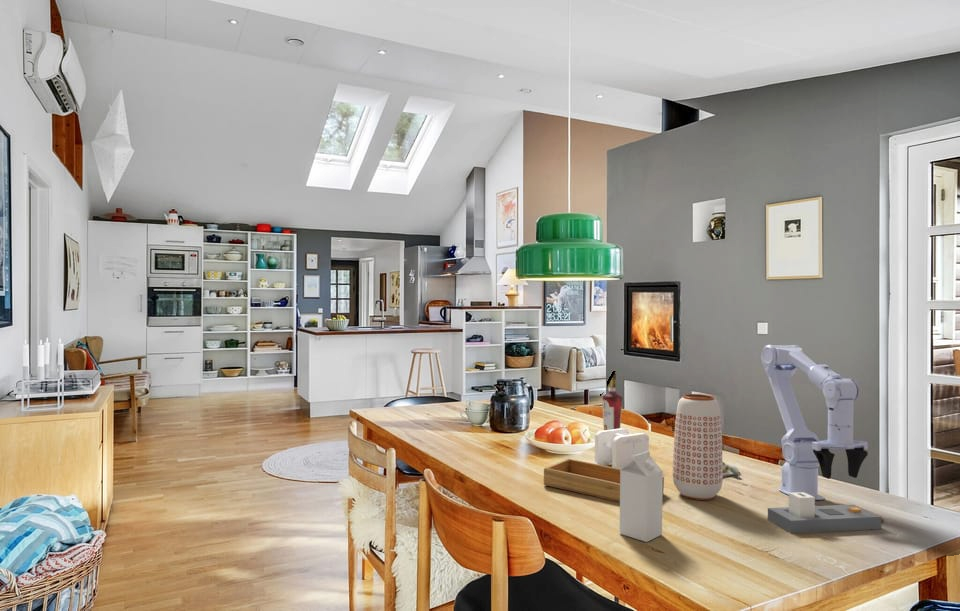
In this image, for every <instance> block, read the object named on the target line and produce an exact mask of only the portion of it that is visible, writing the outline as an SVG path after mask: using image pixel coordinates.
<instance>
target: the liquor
mask: <svg viewBox="0 0 960 611" xmlns="http://www.w3.org/2000/svg"><path fill="white" fill-rule="evenodd" d="M616 379H617V372H614V373H613V375H612V377H611V378H610V380H609V382H608V392H607V393H605V394H603V395H601V396H602V422H603V431H604V430H612V429H620V428H621V423H622V422H621V421H622V406H623V397H622V396H621V395H620V394H618V393H617V387H616Z"/></svg>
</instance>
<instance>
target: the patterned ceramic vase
mask: <svg viewBox="0 0 960 611" xmlns="http://www.w3.org/2000/svg"><path fill="white" fill-rule="evenodd" d="M721 418H722V417H721V410H720V404H719V402H718V400H716V398H715V397H714V396H713V395H708V394H701V393H687V394H683V395H682V397H681V398H679V400H678V402H677V406H676V414H675V423H674V435H673V436H674V437H673V455H672V457H673V458H672V480H673V485H674V486H675V488H676V490H677V491H678V492H679V493H680V495H681V496H682V497H685V498H687V499H691V500H694V499H695V501H710V500H712V499H714V498H715V496H716V495H717V494H718V493H719V492H720V491H721V490H722V486H723V480H724V477H723V463H722V462H723V437H722V436H723V434H722V421H721V420H722V419H721Z"/></svg>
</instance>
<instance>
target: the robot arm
mask: <svg viewBox="0 0 960 611" xmlns="http://www.w3.org/2000/svg"><path fill="white" fill-rule="evenodd" d="M760 359H761V362H762V366H763V368H764V371H765V374H766V375H767V377H768V382H769V384H770V387H771V389H772V392H773V395H774V398H775V401H776V404H777V407H778V410H779V413H780V415H781V419H782V421H783V425H784V428H785V430H786V434H784V435H783V436H782V438H781V440H780V443H781V447H782V448H781V449H782V450H781V451H782V456H783V458H784V460H785V461H786V462H784V464H782V468H781V484H780V485H781V486H780V487H781V488H778V491H779V492H781V493H784V494H785V495H787V496H789V493H796V492H804V493H806V494H809V495H811V496H813V497H815V501H817V500H818V501H819V500H820V501H821V500H822V501H823V500H826V497H824V496H822V495H820V494H818V493H819V492H818V491H819V488H818V487H819V468H820V471H821V475H822V477H823V478H825V479H828V480H829V479H831V477H832V465H833V460H834V457H835V453H833V452H831V450H833V451H836V450H844V451H845V454H846V459H847V470H848V471H847V472H848V473H847V474H848V476H849V477H851V478H855V479H856V478H857V477H858V476H859V472H860V468H861V467H862V464H863V462H864V460H865V459H866V458H867V457H868V454H869V453H868V451H867V450H868V449H869V447H868V446H869V445H868V444H869V443H868V441H865V440H855V439H854V408H855V407H854V403H855V402H854V401H856V400H858V398H859V396H860V386H859V384H858V383H857V382H856V381H855V379H853V378H848V377H847V378H845V377H842V376H841V374H840V373H836V372H835V371H834V370H832V369H831V368H830V366H829V365H828V364H817V363H816V362H815V361H814V360H812V359H811V358H810V357H809V356H807V355H806V353H804V349H803V348H801V347H800V346H799V345H797V344H791V345H786V344H785V345H779V344H778V345H775V344H774V345H772V344H766V345H765V346H764V347H763V349H762V352H761V357H760ZM798 369H799V370H800V371H802V372H804V373H805V374H807V377H808V380H809V382H811V383H812V384H813V385H814V386H816V387H817V388H819V389H820V390H821V391H822V394H823V396H824V398H825V405H826V407H827V439H824V440H820V439H819V437H818V435H817V434H816V433H814V432H813V431H811V430H809V429H808V428H807V425H806V423H805V420H804V417H803V416H804V415H803V414H802V411H801V409H800V406H799V405H800V404H799V403H798V400H797V398H796V394H795V392H794V388H793V387H792V386H793V385H792V383H791V381H790V378H791V377H792V376H794V375H795V373H796V371H797V370H798Z"/></svg>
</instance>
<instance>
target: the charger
mask: <svg viewBox="0 0 960 611" xmlns="http://www.w3.org/2000/svg"><path fill="white" fill-rule="evenodd" d="M815 506H816V500H815V497H813V496H811V495H809V494H806V493H804V492H796V493H789V495H788V507H789V513H790V514H792V515H794V516H796V517H798V518H811V517H815Z"/></svg>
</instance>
